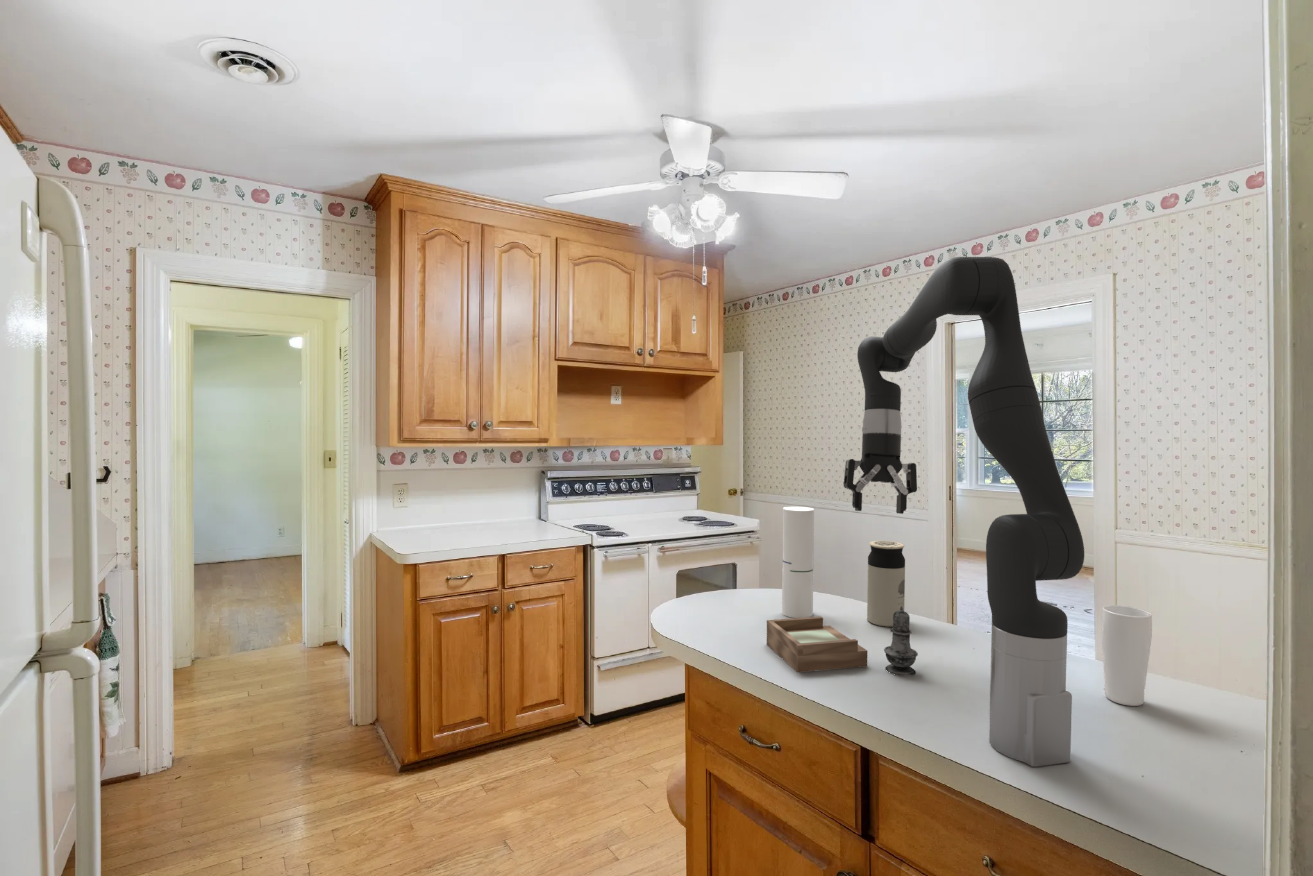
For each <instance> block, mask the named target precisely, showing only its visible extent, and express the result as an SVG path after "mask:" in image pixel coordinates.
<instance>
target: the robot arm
mask: <svg viewBox="0 0 1313 876" xmlns="http://www.w3.org/2000/svg"><path fill="white" fill-rule="evenodd" d="M1017 295H1018V294H1017V290H1016V284H1015V280H1014V276H1013V273H1012V269H1011V267H1010V265H1009V264H1008V263H1007V262H1006V261H1005V260H1004V259H1002V258H1001V257H994V256H956V257H955V256H954V257H950V258H948V259H946V260H944V261H943V262H941V263H940V264H939V265H938V267H936V268H935V270H934V271H933V273H932V274H931V275H930V276H929V278H928V279H927V281H926V282H925V284H924V285H923V287H922V288H921V290H920V291H919V292H918V295H917V296H916V297H915V299H914V300H913V301H912V303H911V305H910V306H909V308H908V309H907V311H905V313H904V314H902V315H901V316H900V317H899V318H898V319H897V320H896V321H895V322H893V323H892V324H891V325H890V326H889V327H888V328H887V329H886V331H885V332H884V334H883V336H882V337H881V336H873V335H872V336H867V337H865V338H863V339H862V341H861V342H860V344H859V345H858V348H857V362H858V363H857V364H858V366H859V371H860V374H861V375H860V376H861V379H862V382H863V388H864V411H863V412H864V413H863V419H862V427H861V431H862V434H861V435H862V437H861V438H862V439H861V441H862V442H861V443H862V444H861V459H860V460H855V459H854V458H851V459H850V458H849V459H846V461H845V464H844V465H845V466H844V467H845V468H844V476H843V477H844V478H843V488H844V489H847V490H848V491H849V490H850V491H851V493H852V499H851V500H852V501H851V502H852V503H851V506H852V508H853V509H854V511H855V512H856V511H857V512H862V508H863V492H862V490H863V489H864V488H865V487H866V485H868V484H869V483H870V482H871V483H879V482H880V483H885V484H886V483H887V484H890V485H891V486H892V487H893V488H894V490H895V491H896V492H897V495H896V507H895V509H896V511H895V512H896V514H901V515H903V514H904V511H905V512H906V511H907V506H908V505H907V503H908V501H907V500H908V496H909V495H910V494H912V493H917V491H918V477H917V464H916V463H915V462H910V463H909V462H908V463H902V461H901V455H902V454H901V452H902V450H901V449H902V448H901V445H902V416H901V406H902V405H901V403H902V400H901V399H902V390H901V386H900V385H899V384H898V383H896V382H893V381H889V380H887V379H885V378H884V377H883V376H882V374H881V372H885V373H900V372H902V371H905V370H906V369H908V367H909V366H910V364H911V361H912V360H913V358H914V356H915V353H917V352H918V351H919V350H921V349H922V348H924V347H925V346H926V345H927V344H928V343H929V342H930V341H931V340H933V338H934V336H935V334H936V331H937V329H938V328H937V325H938V323H937V319H939V318H941V317H943V316H946V315H952V316H979V317H980V319H981V322H982V324H983V325H982V326H983V330H984V341H985V342H984V348H983V351H982V354H981V356H980V358H979V360H978V362H977V365H976V367H975V370H974V371H973V374H972V376H971V379H970V381H969V384H968V389H967V401H968V405H969V410H970V415H971V419H972V423H973V427H974V428H973V429H974V430H975V432H976V435H977V437H978V439H979V441H980V442H981V444H982V445H983V446H984V448H985V449H986V450H987V451H988V453H989V454H990V455H991V456H992V457H993V458H994V459H995V460H996V461H997V462H998V464H999V465H1000V466H1001V467H1002V468H1003V469H1004V470H1005V471H1006V472H1007V474H1008V475H1009V476H1010V478H1011V479H1012V481H1013V482H1014V484H1015V485H1016V487H1017V489H1018V490H1019V491H1018V492H1019V493H1020V496H1021V499H1022V502H1023V505H1024V508H1025V511H1026V513H1015V514H1014V513H1013V514H1011V513H1010V514H1003V515H999V516H998V517H996V518H995V519H993V521H992V522H991V524H990V525H989V528H988V531H987V535H986V540H985V541H986V542H985V543H986V545H985V561H986V588H987V589H986V590H987V591H986V592H987V600H988V605H989V607H990V610H991V641H990V643H991V644H990V645H991V646H990V680H989V681H990V682H989V683H990V685H989V686H990V687H989V688H990V690H989V730H988V732H989V734H988V735H989V737H988V740H989V743H990V745H991V746H992V747H993V748H994V750H996V751H998V753H1000V754H1002V755H1005V757H1009V758H1011V759H1013V760H1016V761H1020V762H1023V763H1025V764H1027V765H1029V766H1030V767H1033V768H1035V767H1041V766H1043V767H1044V766H1051V765H1057V764H1058V765H1059V764H1064V763H1070V762H1071V746H1072V716H1073V715H1072V714H1073V713H1072V710H1073V707H1072V705H1073V694H1072V693H1071V692H1069V691H1068V690H1066V688H1067V658H1068V657H1067V654H1068V651H1067V650H1068V615H1067V614H1066V613H1065V612H1064V610H1062V609H1061V608H1059V607H1057V606H1056V605H1053V604H1049V603H1047V602H1044V601H1040V599H1039V598H1038V594H1037V582H1036V581H1039V582H1040V581H1059V580H1069V579H1072V578H1074V577H1076V576H1077V575H1078V574H1079V573H1080V571H1081V570H1082V568H1083V566H1084V562H1085V544H1084V540H1083V539H1084V538H1083V535H1082V531H1081V529H1080V526H1079V523H1078V521H1077V518H1076V514H1075V511H1074V509H1073V507H1072V505H1071V502H1070V500H1069V497H1068V494H1067V492H1066V491H1067V490H1066V489H1065V487H1064V484H1063V481H1062V478H1061V476H1060V472H1059V470H1058V466H1057V464H1056V459H1055V457H1054V453H1053V450H1052V446H1051V443H1050V439H1049V436H1048V433H1047V429H1046V424H1045V420H1044V415H1043V409H1042V406H1041V401H1040V399H1039V395H1038V391H1037V387H1036V385H1035V381H1034V378H1033V375H1032V370H1031V367H1030V363H1029V359H1028V358H1029V357H1028V355H1027V351H1026V346H1025V342H1024V337H1023V332H1022V326H1021V318H1020V312H1019V304H1018V296H1017ZM858 468H859V469H860V470H861V471H862V472H863V473H862V474H861V475H860V477H859V478H858V479H857V481H856V483H855V484H854V478H855V477H854V476H855V471H857V470H858ZM902 470H903V473H904V474H905V482H906V483H904V482H903V480H902V479H901V477H900V475H899V473H900V472H901V471H902ZM905 484H906V485H905Z"/></svg>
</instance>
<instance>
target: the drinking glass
mask: <svg viewBox="0 0 1313 876" xmlns="http://www.w3.org/2000/svg"><path fill="white" fill-rule="evenodd" d="M1152 616H1153V615H1152V613H1151V612H1149V611H1147V610H1144V609H1142V608H1138V607H1133V606H1127V605H1117V604H1107V605H1103V606H1102V609H1101V618H1100V619H1101V623H1100V625H1101V626H1100V633H1101V634H1100V635H1101V636H1100V637H1101V647H1102V648H1101V649H1102V660H1103V661H1102V663H1103V675H1104V695H1105V697H1106V698H1107V699H1108V700H1110V701H1112V702H1114V703H1116V704H1119V705H1124V706H1128V707H1129V706H1130V707H1138V706H1142V705H1143V704H1145V689H1146V684H1147V683H1146V682H1147V676H1148V669H1149V661H1150V654H1151V646H1152V638H1153V637H1152V636H1153V617H1152Z"/></svg>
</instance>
